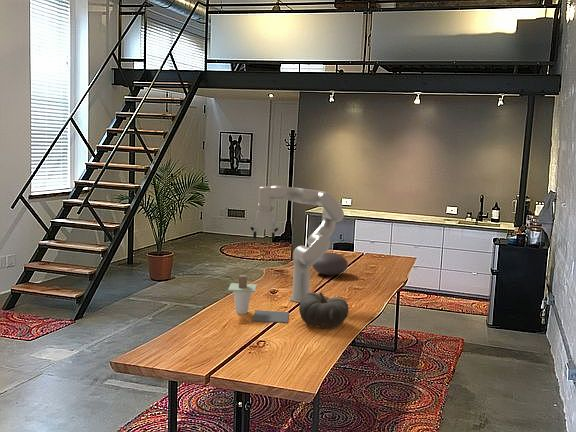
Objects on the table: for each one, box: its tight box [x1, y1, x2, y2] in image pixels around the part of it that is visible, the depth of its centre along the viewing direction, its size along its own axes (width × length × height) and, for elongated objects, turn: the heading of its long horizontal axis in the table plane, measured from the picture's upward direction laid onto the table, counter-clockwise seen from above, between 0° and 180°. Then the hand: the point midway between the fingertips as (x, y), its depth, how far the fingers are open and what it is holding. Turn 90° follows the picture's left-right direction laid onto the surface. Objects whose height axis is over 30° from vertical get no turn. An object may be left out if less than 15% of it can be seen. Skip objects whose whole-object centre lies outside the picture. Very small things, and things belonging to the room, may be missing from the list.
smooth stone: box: [311, 252, 349, 276], centre depth 434 cm, size 25×25×15 cm
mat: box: [251, 310, 290, 324], centre depth 331 cm, size 18×18×1 cm
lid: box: [227, 274, 258, 293], centre depth 335 cm, size 14×14×7 cm
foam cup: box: [232, 291, 252, 315], centre depth 337 cm, size 10×9×13 cm
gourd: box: [298, 291, 349, 329], centre depth 322 cm, size 25×25×17 cm
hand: (263, 239), depth 353 cm, fingers open, 9 cm apart
